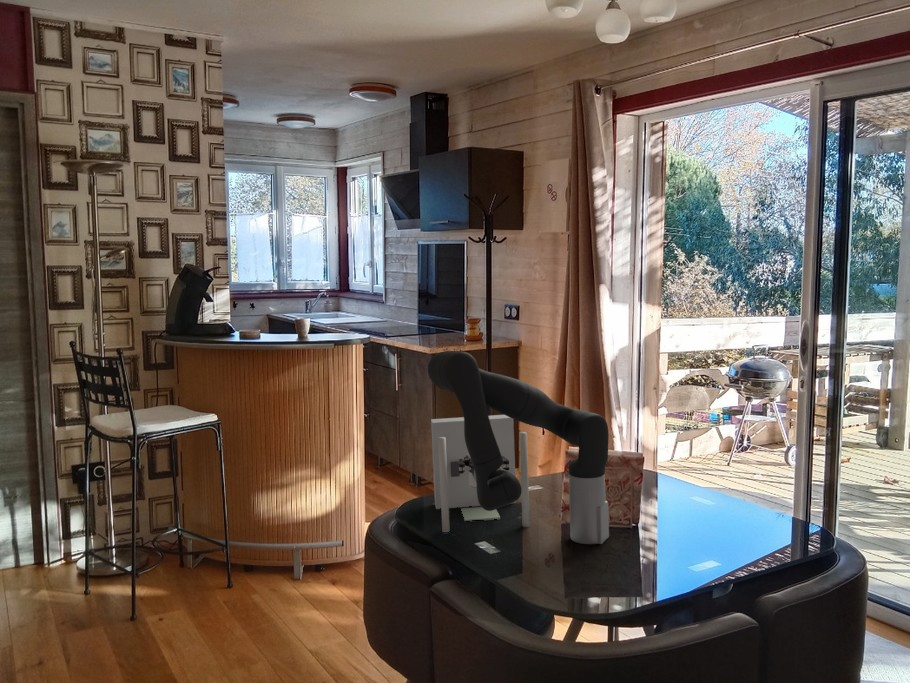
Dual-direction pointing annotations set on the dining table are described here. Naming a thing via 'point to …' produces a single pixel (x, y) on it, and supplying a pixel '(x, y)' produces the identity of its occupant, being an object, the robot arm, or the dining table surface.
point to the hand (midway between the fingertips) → (478, 458)
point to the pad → (479, 514)
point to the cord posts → (445, 483)
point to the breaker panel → (457, 449)
